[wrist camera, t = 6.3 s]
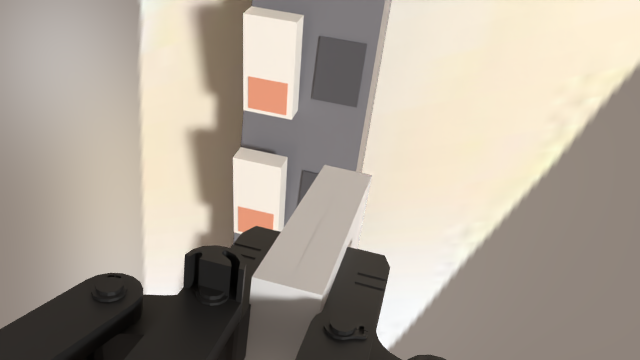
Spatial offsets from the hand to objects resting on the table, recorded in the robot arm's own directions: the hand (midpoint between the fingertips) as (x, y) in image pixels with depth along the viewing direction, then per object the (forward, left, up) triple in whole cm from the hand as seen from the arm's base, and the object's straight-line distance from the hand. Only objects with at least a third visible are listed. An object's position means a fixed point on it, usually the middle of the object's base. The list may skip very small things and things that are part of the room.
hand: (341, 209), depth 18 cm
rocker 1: (+1, -9, -21) cm, 23 cm away
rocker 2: (+11, -9, -21) cm, 25 cm away
